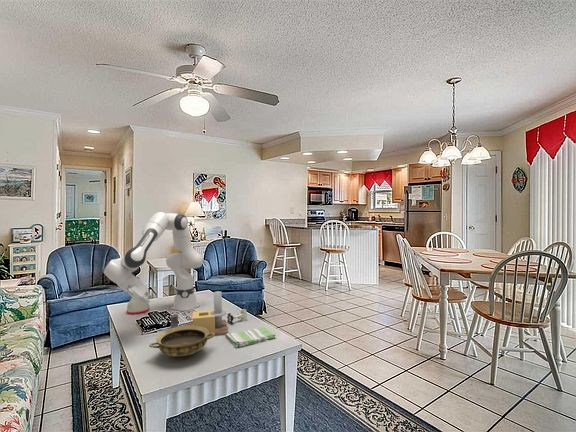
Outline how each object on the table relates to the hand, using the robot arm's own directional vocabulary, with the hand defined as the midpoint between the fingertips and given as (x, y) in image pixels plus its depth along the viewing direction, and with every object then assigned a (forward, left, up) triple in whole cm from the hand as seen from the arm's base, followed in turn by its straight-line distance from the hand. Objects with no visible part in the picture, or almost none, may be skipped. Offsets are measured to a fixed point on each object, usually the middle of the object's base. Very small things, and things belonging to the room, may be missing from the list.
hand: (150, 300), depth 171 cm
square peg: (0, +12, -20) cm, 23 cm away
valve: (-8, +49, -20) cm, 54 cm away
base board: (0, +30, -20) cm, 36 cm away
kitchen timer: (-48, -15, -20) cm, 54 cm away
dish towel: (+18, +52, -21) cm, 59 cm away
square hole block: (0, +32, -18) cm, 37 cm away
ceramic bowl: (+28, +18, -20) cm, 39 cm away
